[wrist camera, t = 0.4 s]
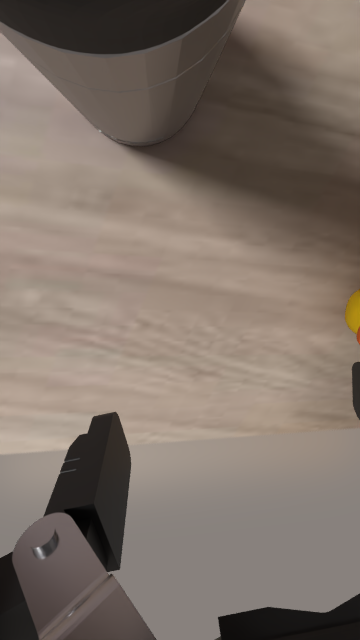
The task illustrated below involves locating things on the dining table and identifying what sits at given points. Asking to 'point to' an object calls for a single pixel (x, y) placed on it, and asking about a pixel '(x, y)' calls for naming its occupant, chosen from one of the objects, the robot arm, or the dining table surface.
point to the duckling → (354, 314)
